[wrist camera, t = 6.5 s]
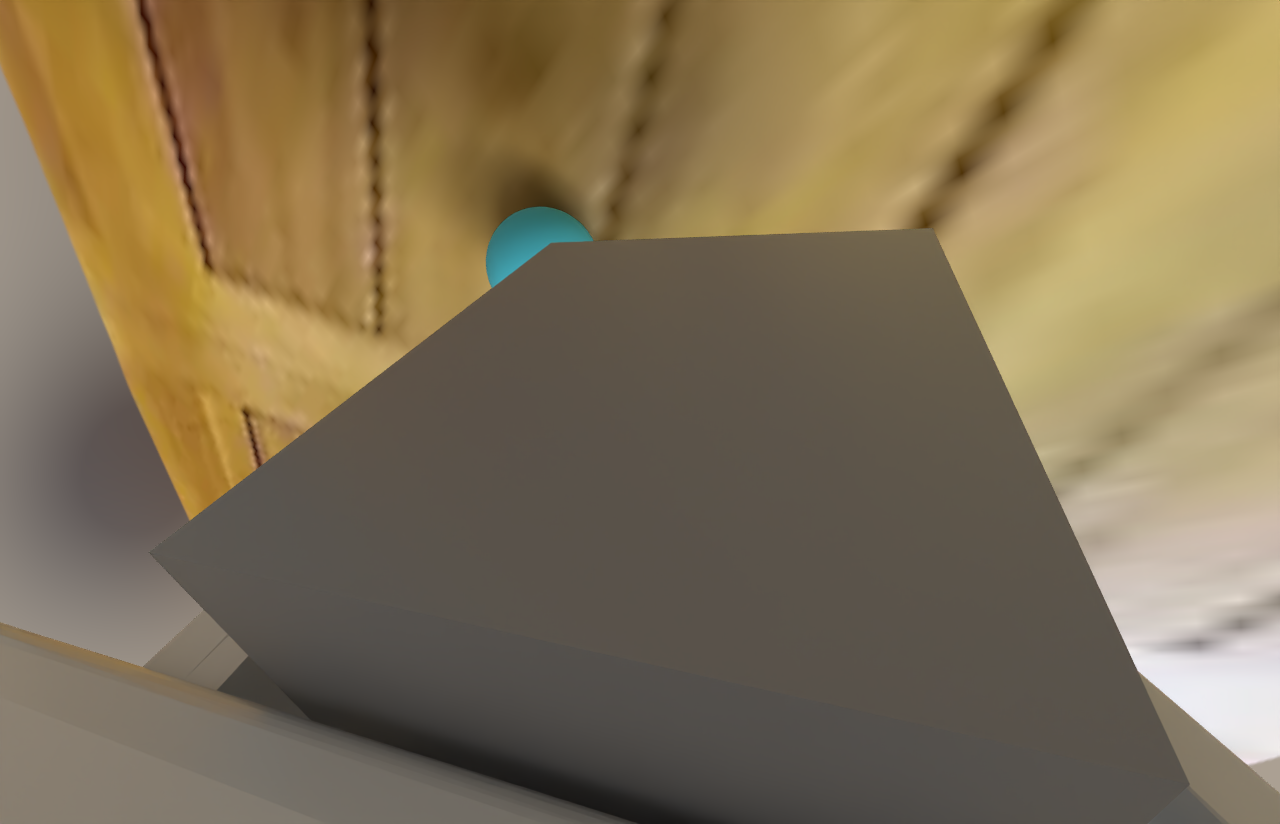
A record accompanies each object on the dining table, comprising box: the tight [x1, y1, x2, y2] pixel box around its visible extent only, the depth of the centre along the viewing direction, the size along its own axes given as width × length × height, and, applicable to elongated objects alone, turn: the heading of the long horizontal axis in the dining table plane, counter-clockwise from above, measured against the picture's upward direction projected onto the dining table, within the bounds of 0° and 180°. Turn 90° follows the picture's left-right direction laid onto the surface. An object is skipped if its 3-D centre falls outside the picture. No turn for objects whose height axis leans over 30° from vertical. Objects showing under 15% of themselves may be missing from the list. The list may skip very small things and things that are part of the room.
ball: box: [486, 207, 593, 288], centre depth 24 cm, size 5×5×5 cm
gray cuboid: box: [149, 228, 1190, 824], centre depth 9 cm, size 8×8×9 cm
